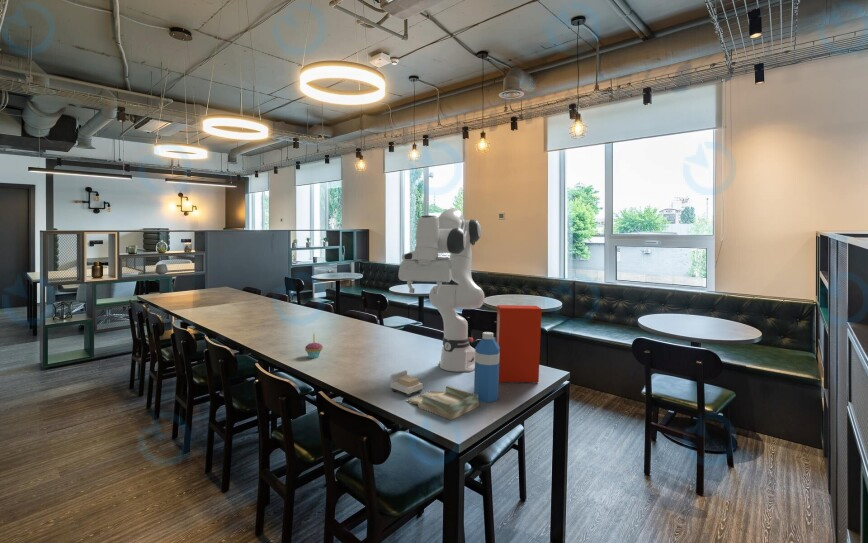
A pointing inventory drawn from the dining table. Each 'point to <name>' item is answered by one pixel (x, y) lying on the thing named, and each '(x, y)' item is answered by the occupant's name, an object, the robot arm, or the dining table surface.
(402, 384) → the cart
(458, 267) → the robot arm
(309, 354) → the cupcake
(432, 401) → the dock
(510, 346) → the red box
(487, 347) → the water bottle
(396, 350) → the dining table surface
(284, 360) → the dining table surface
